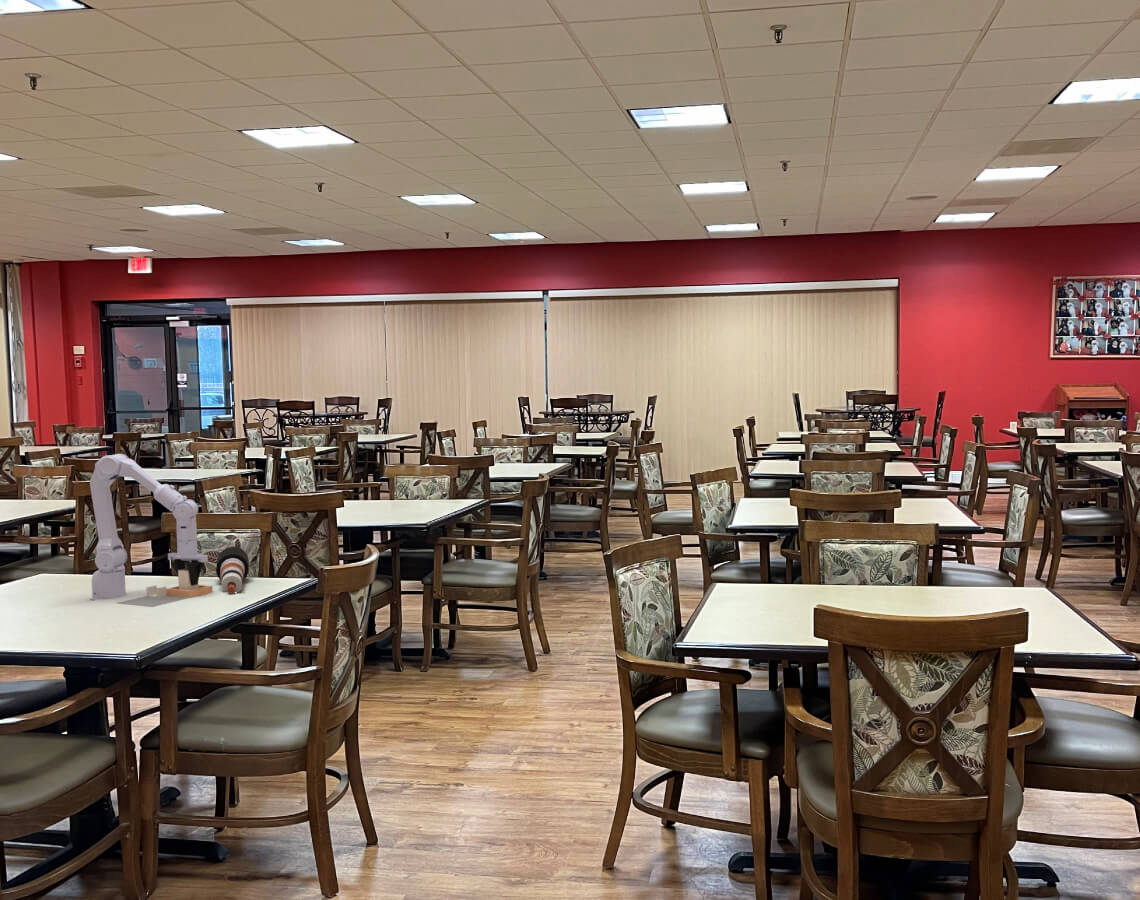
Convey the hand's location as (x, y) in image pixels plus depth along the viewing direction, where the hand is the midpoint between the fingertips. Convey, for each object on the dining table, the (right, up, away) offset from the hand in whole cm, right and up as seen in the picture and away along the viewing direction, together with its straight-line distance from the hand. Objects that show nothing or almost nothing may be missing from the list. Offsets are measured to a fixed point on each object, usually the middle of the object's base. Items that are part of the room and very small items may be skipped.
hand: (188, 584), depth 313 cm
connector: (0, -1, 0) cm, 1 cm away
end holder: (0, -4, 0) cm, 4 cm away
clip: (-8, -4, -3) cm, 10 cm away
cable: (+9, -3, +14) cm, 17 cm away
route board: (-5, -4, -4) cm, 8 cm away
